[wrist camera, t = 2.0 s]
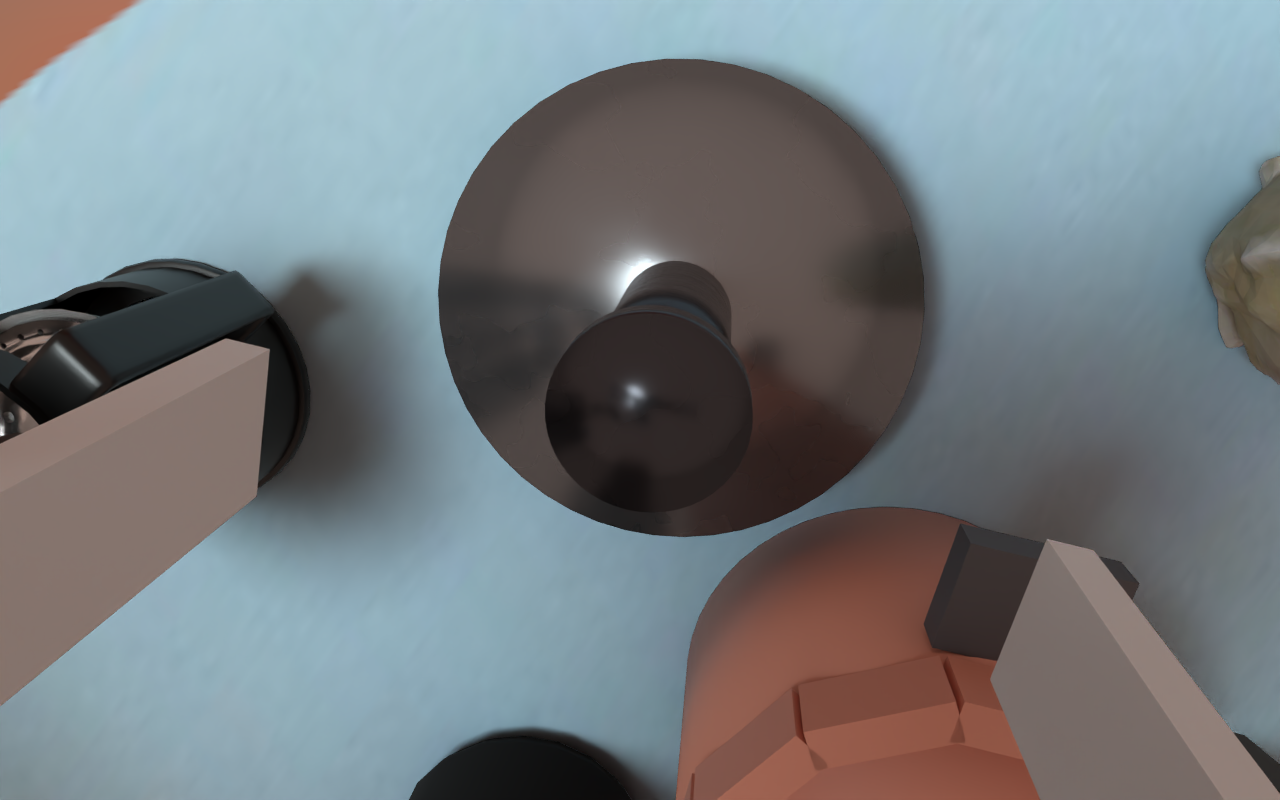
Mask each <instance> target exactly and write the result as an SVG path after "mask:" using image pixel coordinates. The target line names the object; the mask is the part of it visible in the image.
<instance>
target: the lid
mask: <svg viewBox="0 0 1280 800" xmlns="http://www.w3.org/2000/svg"><path fill="white" fill-rule="evenodd" d="M438 297H439V318H440V327H441V332H442V338H443V343H444V349H445V354H446V357H447V360H448V363H449V366H450V369H451V373H452V376H453V379H454V382H455V384H456V386H457V388H458V390H459V393H460V395H461V397H462V399H463V401H464V404H465V406H466V408H467V410H468V411H469V413H470V414H471V416H472V418H473V419H474V421H475V422H476V424H477V426H478V427H479V429H480V431H481V432H482V434H483V435H484V436H485V437H486V439H487V440H488V441H489V442H490V444H491V445H492V446H493V447H494V449H495V450H496V451H497V452H498V454H499V455H500V456H501V457H502V458H503V459H504V460H505V461H506V462H507V463H508V464H509V465H510V466H511V467H512V468H513V469H514V470H515V471H516V472H517V473H518V474H519V475H520V476H521V477H523V478H524V479H525V480H527V481H528V482H529V483H531V484H532V485H533V486H534V487H536V488H537V489H538V490H540V491H541V492H542V493H544V494H545V495H547V496H548V497H550V498H552V499H553V500H555V501H557V502H558V503H560V504H562V505H563V506H565V507H567V508H569V509H570V510H573V511H575V512H577V513H579V514H582V515H584V516H586V517H588V518H591V519H593V520H595V521H598V522H601V523H604V524H607V525H611V526H614V527H617V528H620V529H624V530H628V531H634V532H639V533H645V534H651V535H660V536H677V537H690V536H707V535H716V534H722V533H727V532H733V531H738V530H743V529H746V528H749V527H753V526H756V525H759V524H762V523H766V522H769V521H771V520H774V519H776V518H778V517H780V516H783V515H785V514H787V513H789V512H792V511H794V510H796V509H798V508H800V507H801V506H803V505H805V504H806V503H808V502H810V501H811V500H813V499H815V498H816V497H818V496H819V495H821V494H823V493H824V492H825V491H827V490H828V489H829V488H830V487H832V486H833V485H834V484H835V483H837V482H838V481H839V480H840V479H842V478H843V477H844V476H846V475H847V474H848V473H849V472H850V471H851V470H852V469H853V468H854V467H855V466H856V464H857V463H858V462H859V461H860V460H861V459H862V458H863V457H864V456H865V455H866V454H867V453H868V452H869V451H870V449H871V448H872V447H873V445H874V444H875V443H876V441H877V440H878V439H879V437H880V436H881V435H882V433H883V432H884V431H885V429H886V428H887V426H888V424H889V423H890V421H891V419H892V417H893V416H894V414H895V412H896V410H897V408H898V407H899V405H900V403H901V401H902V399H903V396H904V394H905V391H906V389H907V386H908V384H909V381H910V379H911V377H912V374H913V371H914V367H915V363H916V359H917V355H918V351H919V347H920V343H921V336H922V327H923V319H924V277H923V271H922V265H921V258H920V252H919V246H918V243H917V240H916V236H915V233H914V230H913V227H912V223H911V220H910V217H909V214H908V212H907V210H906V208H905V205H904V203H903V201H902V199H901V197H900V195H899V193H898V190H897V188H896V186H895V184H894V183H893V181H892V180H891V178H890V176H889V175H888V173H887V172H886V170H885V169H884V167H883V166H882V164H881V163H880V161H879V160H878V158H877V156H876V155H875V154H874V153H873V152H872V151H871V150H870V148H869V147H868V146H867V145H866V144H865V143H864V141H863V140H862V139H861V138H860V137H859V136H858V135H857V133H856V132H855V131H854V130H853V129H852V128H850V127H849V126H848V125H847V124H846V123H845V122H844V121H842V120H841V119H840V118H839V117H838V116H837V115H835V114H834V113H833V112H832V111H831V110H830V109H829V108H827V107H826V106H824V105H822V104H821V103H819V102H818V101H816V100H815V99H813V98H812V97H810V96H809V95H807V94H806V93H804V92H802V91H801V90H799V89H797V88H795V87H793V86H791V85H789V84H786V83H784V82H782V81H780V80H778V79H776V78H774V77H771V76H769V75H767V74H763V73H760V72H757V71H753V70H750V69H747V68H744V67H740V66H737V65H733V64H726V63H720V62H714V61H707V60H701V59H661V60H653V61H645V62H637V63H631V64H627V65H623V66H620V67H616V68H612V69H608V70H605V71H601V72H598V73H596V74H593V75H591V76H589V77H586V78H584V79H581V80H579V81H577V82H574V83H572V84H570V85H568V86H566V87H564V88H563V89H561V90H559V91H558V92H556V93H554V94H553V95H551V96H549V97H548V98H546V99H544V100H543V101H541V102H539V103H538V104H537V105H536V106H534V107H533V108H532V109H531V110H529V111H528V112H527V113H526V114H524V115H523V116H522V117H521V118H519V119H518V120H517V121H516V122H514V123H513V124H512V126H511V127H510V128H509V129H508V130H507V131H506V132H505V133H504V134H503V135H502V136H501V137H500V138H499V139H498V140H497V141H496V143H495V144H494V145H493V146H492V147H491V148H490V150H489V151H488V152H487V154H486V155H485V157H484V158H483V159H482V161H481V162H480V164H479V165H478V166H477V168H476V169H475V171H474V172H473V174H472V176H471V178H470V179H469V181H468V183H467V185H466V187H465V189H464V191H463V193H462V195H461V197H460V198H459V200H458V203H457V206H456V208H455V211H454V214H453V217H452V219H451V222H450V225H449V228H448V230H447V235H446V239H445V244H444V249H443V253H442V258H441V264H440V277H439V289H438Z"/></svg>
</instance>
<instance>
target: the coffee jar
mask: <svg viewBox="0 0 1280 800" xmlns="http://www.w3.org/2000/svg"><path fill="white" fill-rule="evenodd" d="M409 800H631V798H630V797H629V795H628V794H627V792H626V790H625V789H624V787H623V786H622V785H621V784H620V783H619V782H618V780H617V779H616V778H615V777H614V776H613V775H611V774H610V773H609V772H608V771H607V770H606V769H604V768H603V767H602V766H601V765H600V764H598V763H597V762H596V761H595V760H594V759H593V758H591V757H590V756H588V755H586V754H584V753H581V752H579V751H577V750H575V749H573V748H571V747H568V746H566V745H564V744H562V743H560V742H556V741H550V740H544V739H538V738H533V737H527V736H519V737H509V738H499V739H490V740H487V741H485V742H481V743H478V744H476V745H473V746H471V747H469V748H466V749H464V750H461V751H459V752H457V753H454V754H452V755H449V756H448V757H446V758H445V759H443V760H442V761H441V762H440V763H439V764H438V765H437V766H436V767H434V768H433V769H432V770H431V771H430V772H429V773H428V774H427V775H426V776H424V777H423V778H422V779H421V780H420V781H419V782H418V783H417V785H416V787H415V789H414V791H413V793H412V795H411V797H410V799H409Z"/></svg>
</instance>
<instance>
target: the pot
mask: <svg viewBox="0 0 1280 800" xmlns="http://www.w3.org/2000/svg"><path fill="white" fill-rule="evenodd" d="M1044 545H1045V544H1044V543H1040V542H1036V541H1032V540H1028V539H1024V538H1019V537H1015V536H1011V535H1007V534H1003V533H999V532H994V531H990V530H986V529H982V528H979V527H977V526H975V525H972V524H970V523H968V522H966V521H963V520H960V519H956V518H953V517H950V516H946V515H943V514H940V513H935V512H929V511H923V510H918V509H911V508H894V507H877V508H861V509H853V510H848V511H842V512H837V513H831V514H828V515H825V516H821V517H818V518H815V519H812V520H808V521H805V522H803V523H801V524H798V525H796V526H794V527H792V528H789V529H787V530H785V531H783V532H781V533H779V534H777V535H776V536H774V537H772V538H771V539H769V540H767V541H766V542H764V543H762V544H761V545H759V546H758V547H757V548H756V549H754V550H753V551H752V552H750V553H749V554H748V555H747V556H745V557H744V558H743V559H742V560H740V561H739V562H738V563H737V564H736V566H735V567H734V568H733V569H732V570H731V571H730V572H729V573H728V574H727V575H726V576H725V577H724V578H723V579H722V581H721V582H720V583H719V585H718V586H717V588H716V589H715V590H714V592H713V593H712V594H711V596H710V597H709V599H708V601H707V603H706V605H705V607H704V609H703V610H702V612H701V614H700V616H699V619H698V621H697V624H696V627H695V630H694V633H693V635H692V639H691V644H690V649H689V654H688V660H687V672H686V684H685V696H684V708H683V719H682V731H681V743H680V755H679V767H678V778H677V790H676V800H1040V798H1039V795H1038V793H1037V791H1036V788H1035V786H1034V783H1033V781H1032V779H1031V776H1030V774H1029V772H1028V769H1027V767H1026V764H1025V762H1024V760H1023V757H1022V755H1021V752H1020V750H1019V748H1018V745H1017V743H1016V740H1015V738H1014V736H1013V733H1012V731H1011V728H1010V726H1009V724H1008V721H1007V719H1006V717H1005V714H1004V712H1003V709H1002V707H1001V705H1000V702H999V700H998V697H997V695H996V693H995V690H994V688H993V685H992V683H991V681H990V678H991V675H992V673H993V670H994V668H995V665H996V663H997V661H998V658H999V656H1000V653H1001V651H1002V648H1003V646H1004V643H1005V641H1006V638H1007V636H1008V633H1009V631H1010V628H1011V626H1012V624H1013V621H1014V619H1015V616H1016V614H1017V611H1018V609H1019V606H1020V604H1021V601H1022V599H1023V596H1024V594H1025V591H1026V589H1027V586H1028V584H1029V582H1030V579H1031V577H1032V574H1033V572H1034V569H1035V567H1036V564H1037V562H1038V559H1039V557H1040V554H1041V552H1042V549H1043V547H1044ZM1099 558H1100V559H1101V561H1102V562H1103V563H1104V564H1105V566H1106V567H1107V568H1108V570H1109V571H1110V572H1111V574H1112V575H1113V576H1114V578H1115V579H1116V580H1117V581H1118V583H1119V584H1120V585H1121V587H1122V588H1123V589H1124V591H1125V592H1126V593H1127V595H1128V596H1129V597H1130V598H1131V600H1132V599H1133V597H1134V595H1135V592H1136V590H1137V588H1138V586H1139V583H1138V582H1137V581H1136V579H1135V578H1134V577H1133V576H1132V575H1131V573H1130V572H1129V571H1128V570H1127V569H1126V567H1125V566H1124V565H1123V564H1122V563H1121V562H1119V561H1115V560H1111V559H1107V558H1103V557H1099Z"/></svg>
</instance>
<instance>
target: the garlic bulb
mask: <svg viewBox="0 0 1280 800" xmlns="http://www.w3.org/2000/svg"><path fill="white" fill-rule="evenodd" d="M1259 174H1260V179H1261V184H1262V190H1261V191H1260V192H1259V193H1257V194H1256V195H1255V196H1254V197H1253V199H1252V200H1251V201H1250V202H1249V203H1248V204H1247V205H1246V206H1245V207H1244V208H1243V209H1242V210H1241V211H1240V212H1239V213H1238V214H1237V215H1236V216H1235V217H1234V218H1233V219H1232V220H1231V221H1230V222H1229V223H1228V224H1227V225H1226V226H1225V228H1224V229H1223V230H1222V231H1221V233H1220V234H1219V235H1218V236H1217V238H1216V239H1215V240H1214V241H1213V243H1212V244H1211V246H1210V249H1209V252H1208V254H1207V257H1206V260H1205V262H1206V268H1205V271H1206V275H1207V278H1208V280H1209V283H1210V285H1211V287H1212V289H1213V293H1214V296H1215V297H1216V298H1217V303H1218V327H1219V330H1220V333H1221V336H1222V338H1223V340H1224V343H1225V345H1226V347H1228V348H1236V347H1240V346H1243V345H1244V346H1245V349H1246V351H1247V354H1248V357H1249V359H1250V362H1251V363H1252V364H1253V365H1254V366H1255V367H1256V368H1257V369H1258V370H1259V371H1261V372H1262V373H1263V374H1265V375H1268V376H1270V377H1271V378H1272V379H1273V380H1274V381H1276V383H1277V384H1278V385H1280V156H1277V157H1275V158H1272V159H1270V160H1267V161H1265V162H1264V163H1263V165H1262V167H1261V169H1260V171H1259Z"/></svg>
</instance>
